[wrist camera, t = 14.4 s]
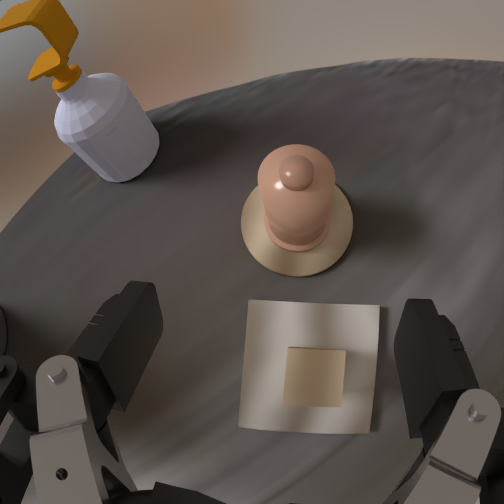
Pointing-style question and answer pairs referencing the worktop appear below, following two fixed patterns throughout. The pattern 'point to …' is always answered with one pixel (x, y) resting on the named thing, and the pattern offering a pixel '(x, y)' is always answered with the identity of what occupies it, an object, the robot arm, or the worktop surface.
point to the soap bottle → (88, 99)
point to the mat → (292, 261)
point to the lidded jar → (296, 196)
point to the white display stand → (309, 367)
